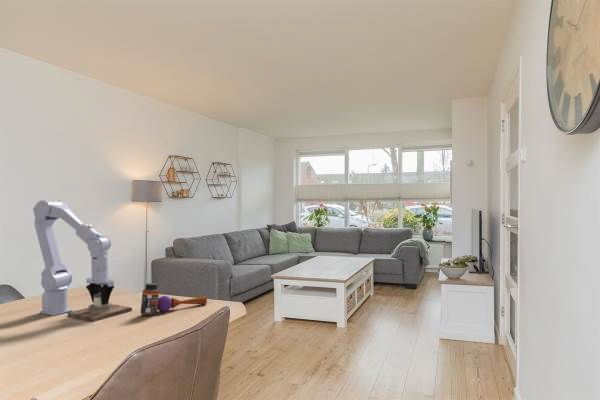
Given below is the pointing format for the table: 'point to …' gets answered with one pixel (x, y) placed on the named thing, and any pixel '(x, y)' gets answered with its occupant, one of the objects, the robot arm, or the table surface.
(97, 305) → the plug
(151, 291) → the supplement bottle
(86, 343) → the table surface
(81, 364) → the table surface
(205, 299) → the kendama
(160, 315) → the table surface
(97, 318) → the board with ring socket
